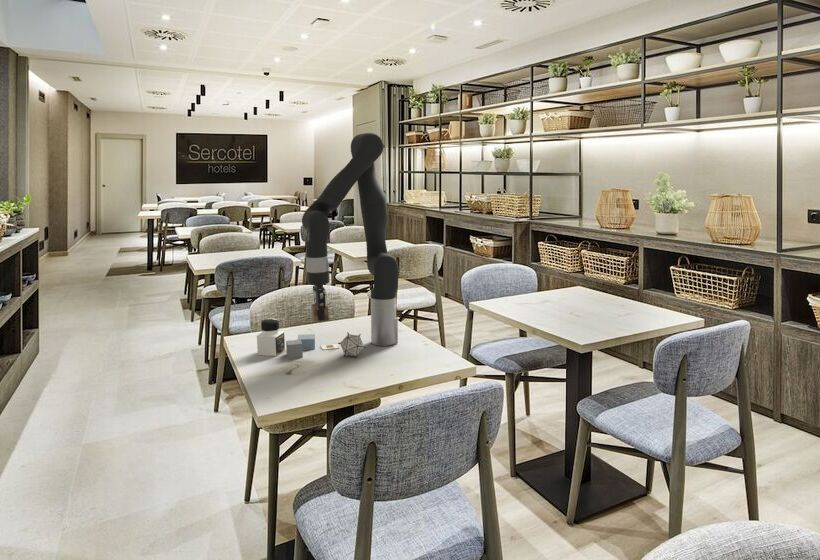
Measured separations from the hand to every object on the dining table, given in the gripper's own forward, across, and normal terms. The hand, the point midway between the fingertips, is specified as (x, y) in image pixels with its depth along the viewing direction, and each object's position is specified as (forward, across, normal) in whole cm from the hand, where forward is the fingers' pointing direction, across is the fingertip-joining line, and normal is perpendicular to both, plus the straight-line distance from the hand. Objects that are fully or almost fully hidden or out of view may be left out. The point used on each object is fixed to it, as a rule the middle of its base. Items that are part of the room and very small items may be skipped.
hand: (320, 317), depth 195 cm
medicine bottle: (+13, +6, +17) cm, 22 cm away
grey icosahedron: (+13, -6, -10) cm, 17 cm away
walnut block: (+1, 0, 0) cm, 1 cm away
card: (+13, +6, -4) cm, 15 cm away
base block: (+13, +9, +4) cm, 16 cm away
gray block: (+13, 0, +10) cm, 16 cm away
